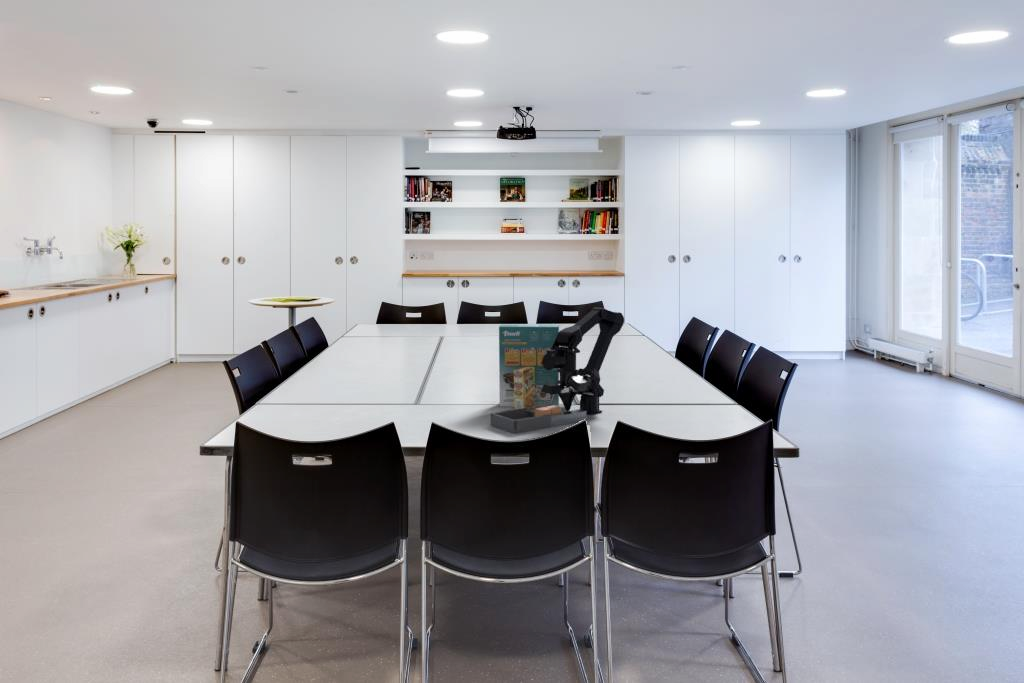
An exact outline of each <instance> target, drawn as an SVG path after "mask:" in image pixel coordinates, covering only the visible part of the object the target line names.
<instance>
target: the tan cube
mask: <svg viewBox="0 0 1024 683" xmlns="http://www.w3.org/2000/svg"><path fill="white" fill-rule="evenodd" d="M534 409H535V417H537V416H543V415H548V414H551V409H549V408H546V407H535V408H534Z"/></svg>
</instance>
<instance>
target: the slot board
mask: <svg viewBox="0 0 1024 683" xmlns="http://www.w3.org/2000/svg"><path fill="white" fill-rule="evenodd" d="M557 406H558V407H561V413H555V414H550V415H551V427H550V428H553V427H559V426H563V425H569V424H574V423H579V422H578V421H581V420H584V419H585V420H586V421H588V416H587V414H586V411H585V410H581V409H580V408H579V409H574V410H569V411H567V410H566V409H565V407H564V405H563V404H559V405H557ZM535 409H536V408H532V409H529V410H528V417H535ZM581 422H582V421H581Z"/></svg>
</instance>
